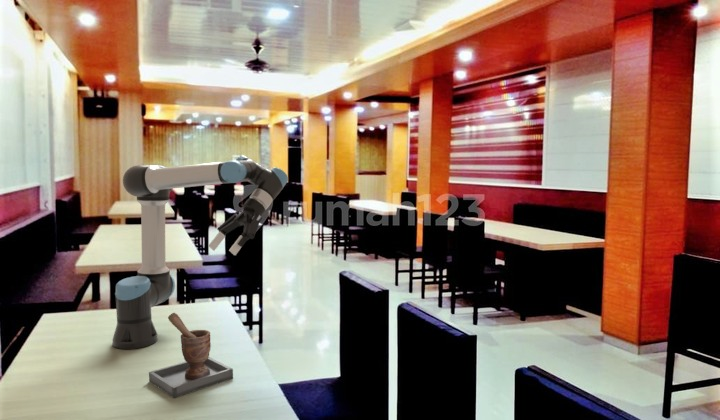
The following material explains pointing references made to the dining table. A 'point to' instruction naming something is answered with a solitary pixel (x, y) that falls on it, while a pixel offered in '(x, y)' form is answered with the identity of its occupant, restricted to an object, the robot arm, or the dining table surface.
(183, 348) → the mortar and pestle
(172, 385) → the tray
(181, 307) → the dining table surface
